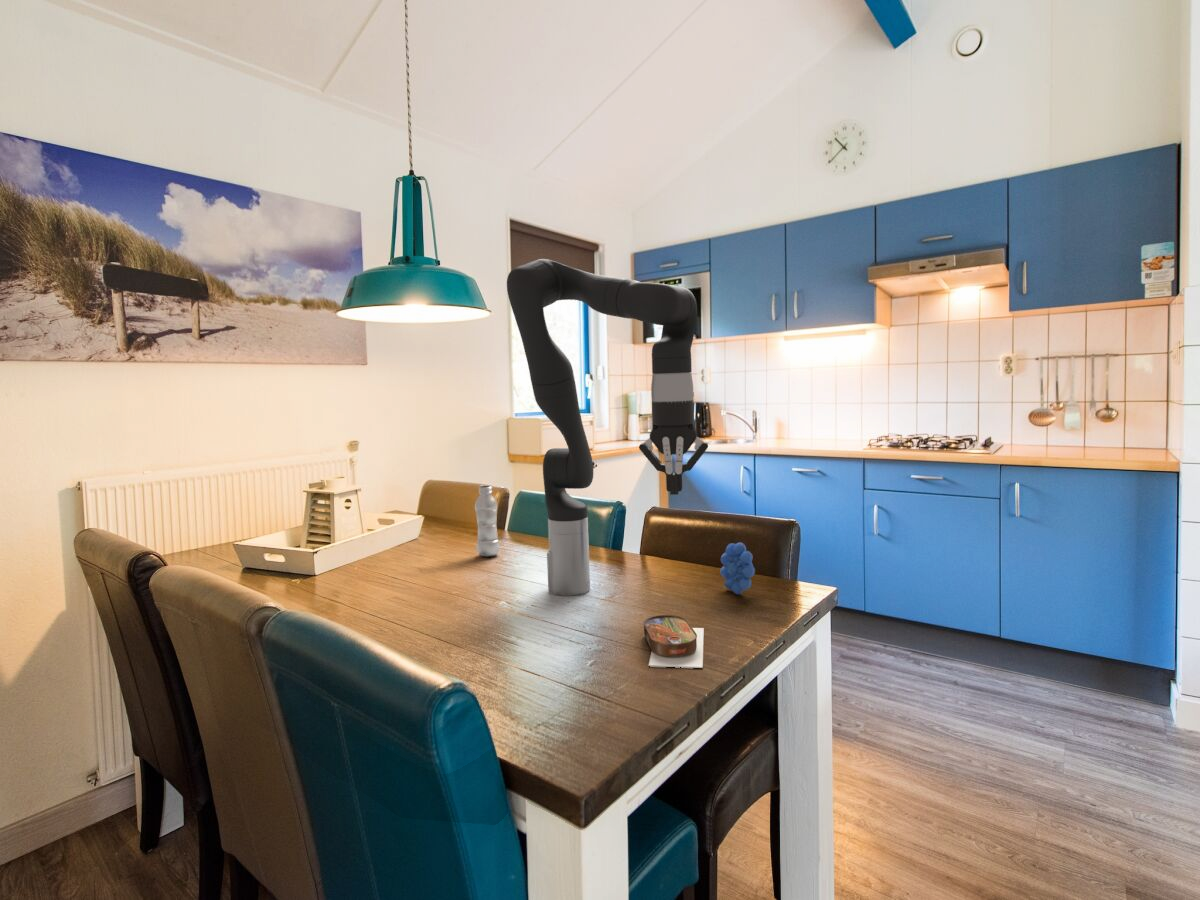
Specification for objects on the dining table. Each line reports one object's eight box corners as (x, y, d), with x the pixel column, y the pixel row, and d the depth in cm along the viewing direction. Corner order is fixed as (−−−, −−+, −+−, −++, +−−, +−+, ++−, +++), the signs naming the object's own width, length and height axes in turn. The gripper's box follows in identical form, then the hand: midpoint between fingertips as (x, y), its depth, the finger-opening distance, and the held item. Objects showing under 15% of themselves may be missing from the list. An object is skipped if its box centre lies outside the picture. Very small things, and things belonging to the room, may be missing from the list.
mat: (648, 666, 114) (648, 665, 114) (657, 628, 132) (656, 626, 132) (702, 668, 112) (702, 667, 112) (703, 629, 130) (703, 628, 130)
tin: (640, 616, 130) (683, 610, 131) (641, 632, 131) (684, 626, 131) (653, 645, 115) (701, 638, 116) (655, 663, 116) (703, 656, 116)
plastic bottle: (504, 553, 194) (501, 484, 192) (493, 559, 188) (489, 488, 186) (484, 552, 196) (481, 484, 194) (472, 558, 190) (469, 488, 188)
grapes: (769, 598, 147) (769, 544, 146) (743, 603, 145) (742, 548, 144) (738, 584, 158) (737, 534, 157) (713, 588, 155) (713, 537, 154)
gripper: (633, 400, 119) (636, 498, 121) (709, 398, 117) (711, 497, 119) (637, 399, 126) (640, 490, 128) (709, 396, 124) (711, 490, 126)
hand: (674, 493), depth 123 cm, fingers closed
